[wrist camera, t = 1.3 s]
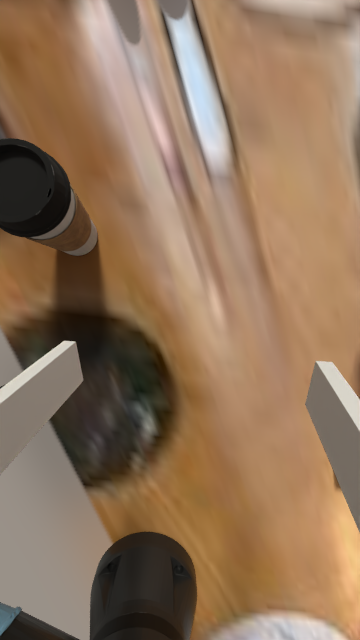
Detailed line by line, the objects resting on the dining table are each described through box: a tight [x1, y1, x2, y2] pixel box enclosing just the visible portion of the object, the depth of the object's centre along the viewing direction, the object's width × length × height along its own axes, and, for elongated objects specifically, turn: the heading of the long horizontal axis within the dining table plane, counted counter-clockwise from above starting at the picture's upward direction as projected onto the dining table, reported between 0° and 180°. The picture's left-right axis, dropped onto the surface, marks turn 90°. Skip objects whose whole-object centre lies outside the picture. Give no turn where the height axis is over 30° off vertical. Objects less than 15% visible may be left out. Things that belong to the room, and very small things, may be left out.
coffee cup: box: [0, 138, 97, 256], centre depth 28 cm, size 8×8×15 cm
